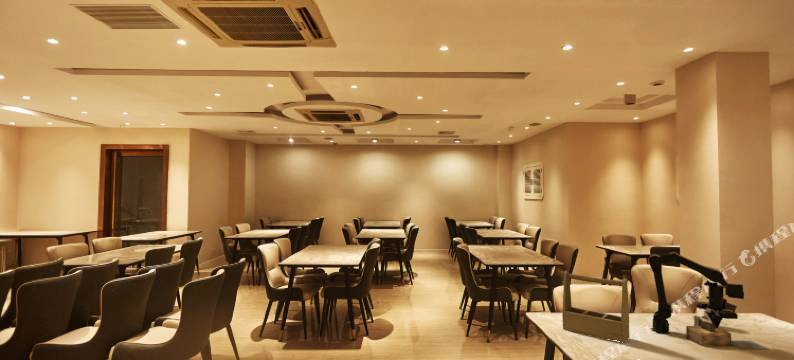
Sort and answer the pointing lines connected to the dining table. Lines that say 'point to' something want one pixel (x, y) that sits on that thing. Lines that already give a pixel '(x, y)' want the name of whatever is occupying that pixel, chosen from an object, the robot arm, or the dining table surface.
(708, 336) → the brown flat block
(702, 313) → the jar
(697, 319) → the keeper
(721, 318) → the robot arm
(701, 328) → the lid
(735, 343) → the mat
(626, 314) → the caddy
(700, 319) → the tan wooden bar
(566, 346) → the dining table surface
